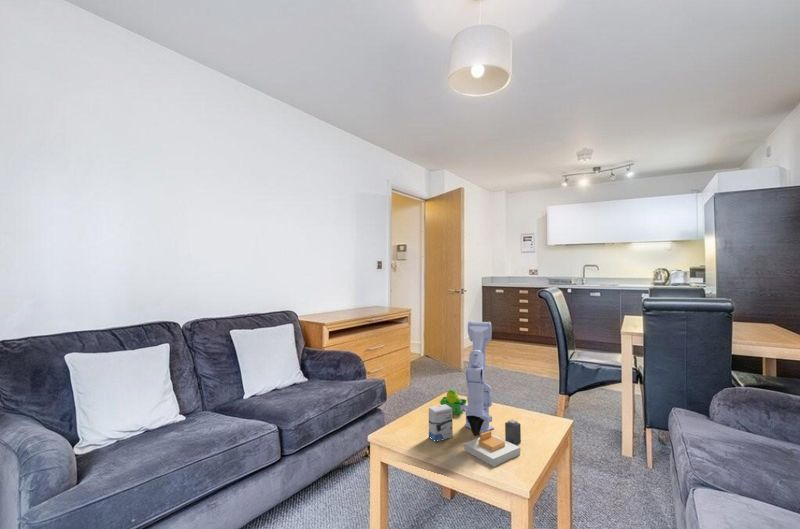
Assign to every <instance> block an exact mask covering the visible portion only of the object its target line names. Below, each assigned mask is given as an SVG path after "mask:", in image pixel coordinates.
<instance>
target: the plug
mask: <svg viewBox="0 0 800 529" xmlns="http://www.w3.org/2000/svg"><path fill="white" fill-rule="evenodd" d="M504 428H505V429H504V430H505V431H504V432H505V434H504V435H505V439H504V440H505V441H508V442H510V443H512V444H514V445H517V444H520V443H521V442H522V440H521V438H522V437H521V435H522V434H521V430H522V429H521V423H519V422H518V420H515V419H510V420H507V422H504Z"/></svg>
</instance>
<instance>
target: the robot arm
mask: <svg viewBox="0 0 800 529" xmlns="http://www.w3.org/2000/svg"><path fill="white" fill-rule="evenodd" d="M492 330H493V327H492V323H491V321H471V320H470V321H468V322H467V333H468V339H469V341H471V342H472V351H470V352H469V356H468V366H467V368H466V370H465V380H466V381H465V382H466V388H467V394H466V396H467V398H466V400H467V401H466V403H467V405H466V404H465V405H462V406H461V411H463V412H465V424H464V426H465V427H466V428H469V429H470V430H471V433H472V436H474V437H480V434H481V433H484V432H487V431H491V430H493V429H495V428H494V426H492V425H490V423H491V422H493V416H492V415H490V408H491V407H492V405H493V392H492V387H491V386H490V385H489V384H487V382H486V353H487V352H486V351H487V350H486V348H487V345H488V343H490V342H492V332H493V331H492Z"/></svg>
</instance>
